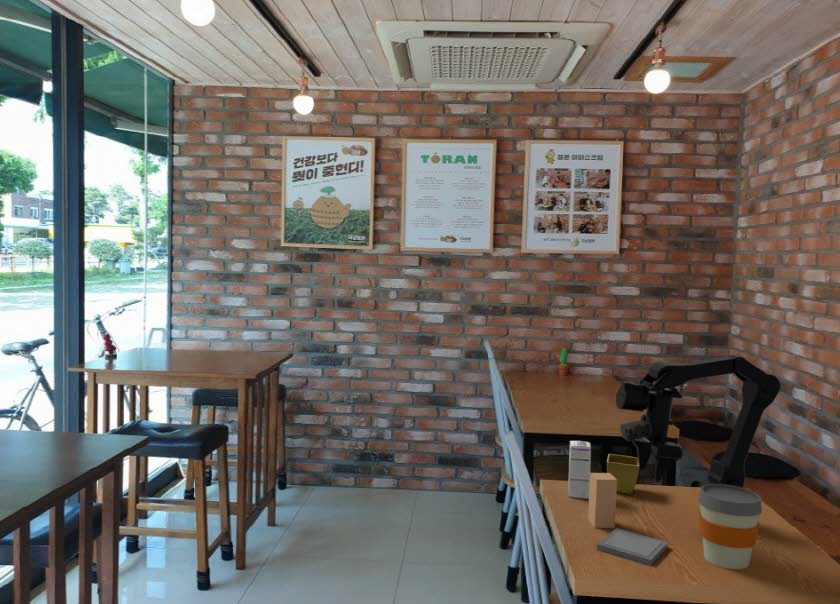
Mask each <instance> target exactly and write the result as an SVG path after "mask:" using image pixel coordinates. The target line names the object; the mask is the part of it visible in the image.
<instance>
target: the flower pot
mask: <svg viewBox="0 0 840 604" xmlns="http://www.w3.org/2000/svg"><path fill="white" fill-rule="evenodd" d="M639 472H640V469H639V463H638V456H637V457H635V456H629V455H620V454H615V453H613V454H612V453H608V455H607V459H606V473H610V474H611V475H612V476H614V477H615V478H616V479H617V492H616V493H623V494H628V495H629V494H631V493H632V492H633V491H634V490H635V487H636V485H637V482H638V476H639Z"/></svg>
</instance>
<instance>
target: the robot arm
mask: <svg viewBox="0 0 840 604" xmlns="http://www.w3.org/2000/svg"><path fill="white" fill-rule="evenodd" d="M729 374H733V375H734V376H735V377H736V379H738V380H740V381H741V382H742V388H741V397H742V405H741V408H740V410H739V414H738V416H737V419H736V421H735V424H734V427H733V430H732V432H731V435H730V438H729V440H728V442H727V446H726V448H725V452H724V453H723V456H722V457H720V459H719V460H716V459H712V460H711V463H710V466H709V469H708V470H707V472H706V474H707V482H708V484H725V485H732V486H737V487H741V488H745V481H746V472H745V462H746V460H747V457H748V454H749V451H750V449H751V446H752V443H753V440H754V438H755V435H756V432H757V429H758V428H759V427H758V426H759V424H760V421H761V419H762V416H763V413H764V411H765V410H766V409H767V408H768V407H769V406H771V405H772V403H774V402H775V400H776V398H777V396H778V394H779V393H780V391H781V387H782V386H781V383H780V380H779V378H778V377H777V376H776V375H774V374H771V373H768V372H766V371H764V370H762V369H761V368H759V367H758V366H756V365H755V364H753V363H751V362H750V361H748V360H747V359H746V358H745V357H743V356H741V355H736V354H729V355H727V356H722V357H716V358H709V359H702V360H696V361H690V362H675V361H656V362H654V363H652V364H651V366H650V367H649V370H648V372H647V373H646V374H645V375H644V376H643V377H642V378H641V379H640V380H639V381H637V382H638V383H632V382H629V381H621V385H620V386H619V387H618V390H617V392H616V394H615V405H616V408H617V409H619V410H622V411H632V412H644V411H645V410H646V411H645V413H643V414H642V415H641V416H640V420H634V421H629V422H627V423H621V424H620V425H619V427H620V428H619V429H620V433H621V438H622V439H624V440H625V441H627V442H632V443H633V445H634V446H635V448H636V454H637V458H638V463H639V471H641V470H642V471H645V469H646V466H647V465H648V462H649V460H650V458H651V456H652V458H653V460H654V482H656V483H660V482H661V480H662V479H663V478H664V476H665V475H666V474H667V472H668V471H669V470H670V469H671V468H672V466H673V465H674V464H675V463H676V462H678V461H679V460H680V459H682V458H683V454H684V450H683V448H682V447H681V446H680V445H678V444H677V443H675V442H671V438H672V437H671V436H668V435H669V429H670V426H673V425H674V421H673V420H672V419H671V417H672V416H671V415H672V408H673V402H674V399H683V395H682V394H681V393H680V392H679V391H678V388H677V387H680V386H683V385H685V384H686V383H688V382H690V381H692V380H696V379H697V380H699V379H705V378H709V377H710V378H711V377H716V376H722V375H729Z"/></svg>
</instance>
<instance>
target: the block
mask: <svg viewBox="0 0 840 604" xmlns="http://www.w3.org/2000/svg"><path fill="white" fill-rule="evenodd" d="M617 493H618V492H617V479H616V478H615V477H614V476H612V475H611V474H610V473H607V472H590V489H589V499H588V509H587V510H588V513H587V514H588V515H587V521H588V522H589V523H590V524H591V525H592V527H593V528H594V529H616V510H617V508H616V505H617Z"/></svg>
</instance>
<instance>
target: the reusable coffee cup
mask: <svg viewBox="0 0 840 604" xmlns="http://www.w3.org/2000/svg"><path fill="white" fill-rule="evenodd" d="M698 497H699V498H698V503H699V505H700V511H699V513H698V516H699V517H698V520H699V530H700V531H699V532H700V535H701V537H702V543H703V557H704V559H705V560H706V561H707V562H708V563H710V564H713V565H714V566H717V567H720V568H723V569H728V570H744V569H743V568H745V569H747V568H748V567H749V565H750V561H751V556H752V552H753V547H754V546H755V545H756V542H757V540H758V539H757V538H758V534H759V531H760V529H759V528H760V525H761V524H760V521H759V519H760V515H761V514H762V512H763V511H762V507H763V506H762V497H761V495H759V494H758V493H757V492H755V491H752V490H751V489H747V488H745V487H744V488H741V487H737V486H732V485H725V484H709V483H708V484H704V485H703V486H701V487H700V491H699V496H698ZM746 567H747V568H746Z"/></svg>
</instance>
